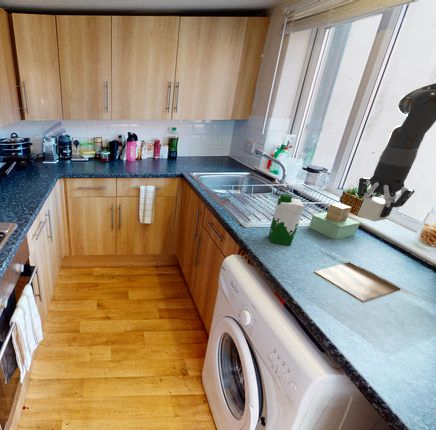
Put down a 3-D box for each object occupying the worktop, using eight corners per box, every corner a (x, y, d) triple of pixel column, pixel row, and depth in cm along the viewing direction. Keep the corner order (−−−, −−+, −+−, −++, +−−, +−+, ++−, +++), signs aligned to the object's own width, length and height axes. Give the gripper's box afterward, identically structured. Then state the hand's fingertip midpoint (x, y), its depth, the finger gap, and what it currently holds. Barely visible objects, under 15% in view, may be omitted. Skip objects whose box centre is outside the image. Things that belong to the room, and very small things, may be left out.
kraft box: (334, 215, 126) (339, 202, 123) (346, 220, 121) (351, 207, 119) (325, 217, 124) (330, 204, 121) (337, 221, 120) (342, 208, 117)
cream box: (368, 213, 96) (375, 196, 94) (385, 219, 92) (393, 202, 89) (357, 215, 94) (364, 198, 92) (374, 221, 90) (382, 204, 88)
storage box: (325, 226, 133) (331, 211, 130) (354, 239, 123) (361, 222, 119) (306, 230, 129) (311, 214, 126) (333, 244, 119) (340, 226, 115)
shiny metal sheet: (348, 263, 106) (349, 262, 106) (400, 289, 92) (400, 288, 92) (313, 272, 100) (314, 271, 100) (363, 302, 87) (363, 301, 87)
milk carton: (266, 234, 125) (278, 191, 117) (289, 237, 123) (303, 194, 115) (269, 243, 118) (282, 198, 110) (293, 247, 115) (308, 201, 107)
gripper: (433, 167, 81) (406, 221, 88) (376, 155, 93) (357, 204, 100) (417, 169, 78) (391, 224, 85) (361, 157, 90) (342, 206, 98)
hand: (372, 213), depth 93 cm, fingers closed on cream box, 5 cm apart
